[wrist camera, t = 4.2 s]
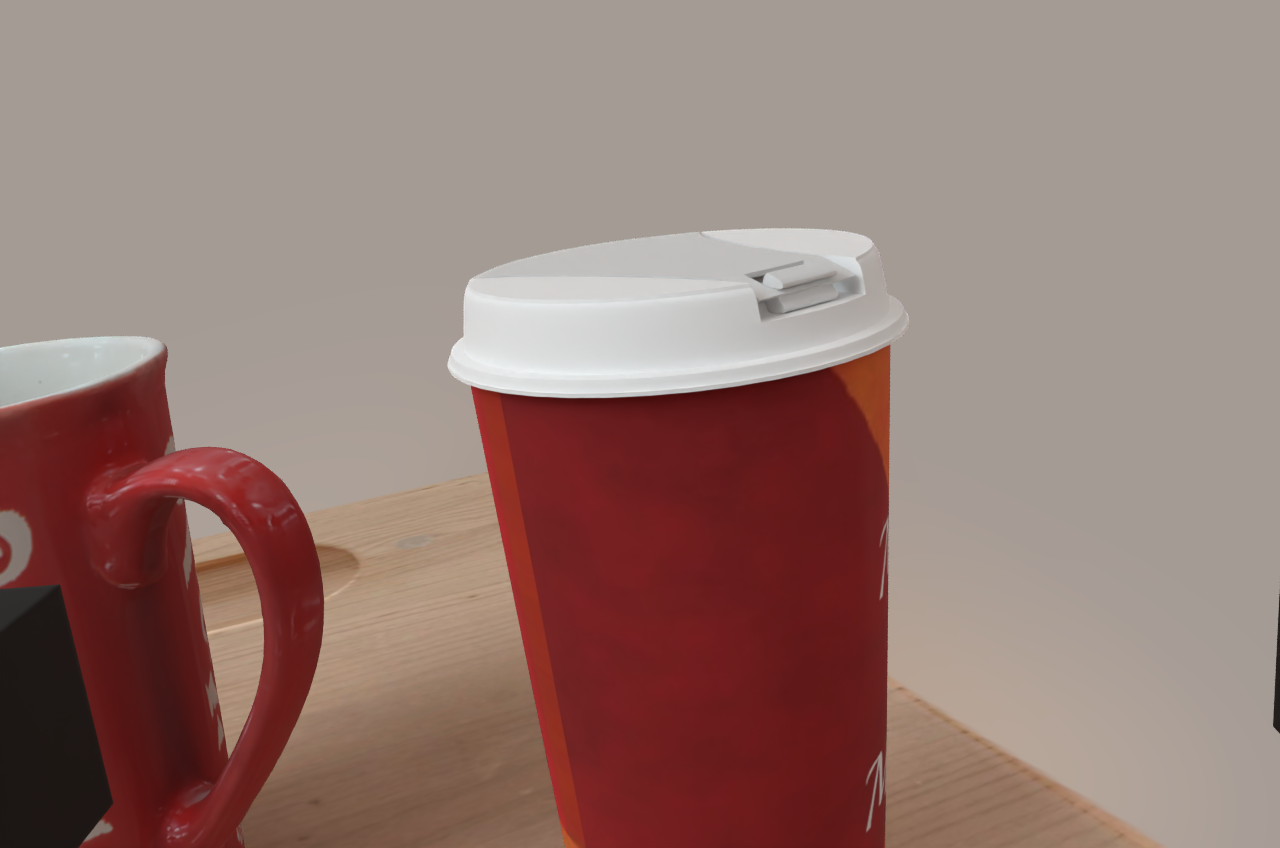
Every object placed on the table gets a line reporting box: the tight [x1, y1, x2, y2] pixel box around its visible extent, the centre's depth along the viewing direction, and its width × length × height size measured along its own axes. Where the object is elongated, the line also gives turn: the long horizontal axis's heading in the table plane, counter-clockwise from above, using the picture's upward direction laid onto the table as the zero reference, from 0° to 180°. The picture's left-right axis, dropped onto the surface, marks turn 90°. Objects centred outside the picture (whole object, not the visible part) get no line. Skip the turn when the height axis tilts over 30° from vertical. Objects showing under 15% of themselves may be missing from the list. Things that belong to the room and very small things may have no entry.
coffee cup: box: [448, 228, 909, 848], centre depth 24 cm, size 8×8×15 cm
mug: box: [0, 336, 324, 848], centre depth 27 cm, size 13×9×14 cm
